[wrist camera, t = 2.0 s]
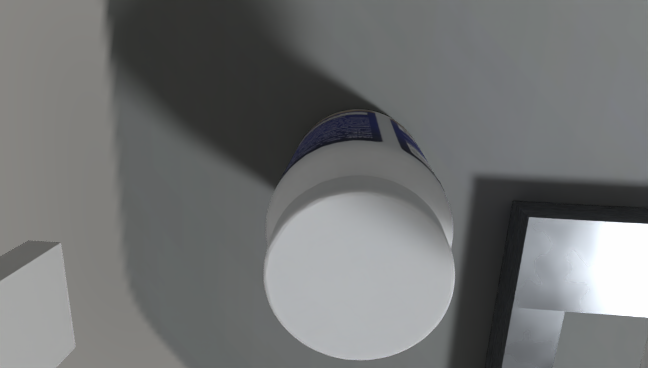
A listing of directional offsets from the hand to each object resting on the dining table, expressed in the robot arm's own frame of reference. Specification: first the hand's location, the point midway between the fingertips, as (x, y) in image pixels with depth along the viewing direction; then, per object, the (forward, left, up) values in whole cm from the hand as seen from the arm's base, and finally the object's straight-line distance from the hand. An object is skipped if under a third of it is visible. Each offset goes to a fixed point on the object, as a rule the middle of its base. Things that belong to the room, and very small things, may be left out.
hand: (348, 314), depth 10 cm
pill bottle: (0, 0, -11) cm, 11 cm away
